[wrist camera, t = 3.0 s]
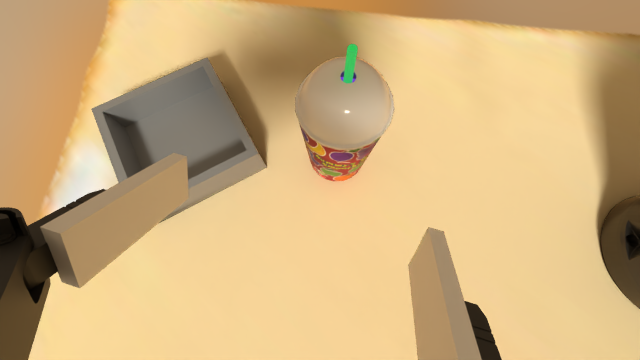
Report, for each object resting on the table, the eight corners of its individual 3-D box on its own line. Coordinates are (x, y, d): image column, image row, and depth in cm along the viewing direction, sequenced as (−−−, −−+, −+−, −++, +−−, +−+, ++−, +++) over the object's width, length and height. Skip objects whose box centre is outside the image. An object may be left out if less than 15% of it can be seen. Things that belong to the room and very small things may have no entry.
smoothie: (317, 199, 35) (312, 126, 16) (296, 142, 37) (268, 16, 18) (377, 177, 36) (443, 82, 16) (353, 122, 38) (386, -18, 19)
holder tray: (266, 167, 36) (258, 153, 31) (158, 223, 34) (131, 217, 29) (220, 81, 40) (207, 57, 35) (120, 127, 38) (91, 108, 33)
